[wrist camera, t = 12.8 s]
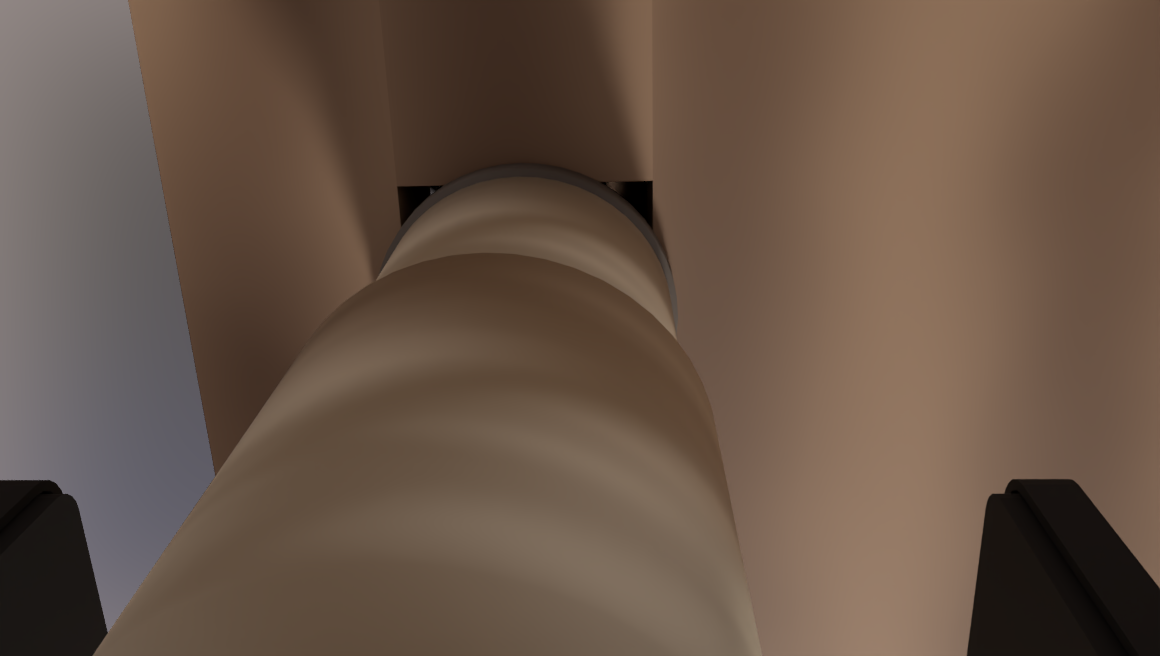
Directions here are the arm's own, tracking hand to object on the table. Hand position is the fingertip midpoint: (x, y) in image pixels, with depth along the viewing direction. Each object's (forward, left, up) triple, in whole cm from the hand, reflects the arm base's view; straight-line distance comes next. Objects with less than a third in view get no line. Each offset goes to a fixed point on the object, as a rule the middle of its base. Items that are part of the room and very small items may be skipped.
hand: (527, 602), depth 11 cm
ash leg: (+1, 0, -10) cm, 10 cm away
